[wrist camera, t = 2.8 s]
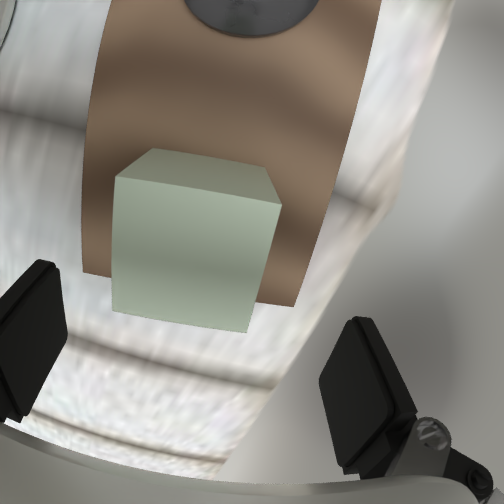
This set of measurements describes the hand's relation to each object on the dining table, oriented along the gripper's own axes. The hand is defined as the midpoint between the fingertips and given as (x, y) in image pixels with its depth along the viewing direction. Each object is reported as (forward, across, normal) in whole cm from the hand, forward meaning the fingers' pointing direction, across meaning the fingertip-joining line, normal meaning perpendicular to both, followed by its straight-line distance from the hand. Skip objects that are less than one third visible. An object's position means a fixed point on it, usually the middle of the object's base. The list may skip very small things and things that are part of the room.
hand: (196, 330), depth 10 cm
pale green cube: (+9, +1, 0) cm, 9 cm away
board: (+11, +1, -7) cm, 13 cm away
